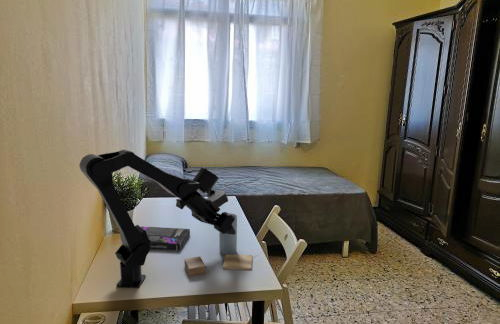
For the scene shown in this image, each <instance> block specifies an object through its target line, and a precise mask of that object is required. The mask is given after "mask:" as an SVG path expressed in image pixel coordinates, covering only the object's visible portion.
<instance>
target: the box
mask: <svg viewBox="0 0 500 324" xmlns="http://www.w3.org/2000/svg"><path fill="white" fill-rule="evenodd" d="M140 227H141V228H143V229H144V230H145V231H146V233H147V236H148V239H149V240H150V241H151V242H149V243H150V246H151V249H150V250H157V251H159V250H161V251H182V248H183V247H184V246H185V244H186V242H187V241H188V240H189V238H190V237H191V236H190V235H191V228H178V227H177V228H176V227H159V226H158V227H155V226H140Z"/></svg>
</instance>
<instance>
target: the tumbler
mask: <svg viewBox="0 0 500 324" xmlns="http://www.w3.org/2000/svg"><path fill="white" fill-rule="evenodd" d="M228 213H229V214H231V215H232V216H233V217H234V218H235V220H234V222H233V223H232V226H233V228H234V229H235V231H236V233H235V235H231V234H222V233H221V232H219V231H218V232H219V237H218V238H219V244H218V245H219V254H221V256H225V255H237V251H238V250H237V249H238V244H237V243H238V239H237V238H238V215H237V214H235V213H230V212H228Z"/></svg>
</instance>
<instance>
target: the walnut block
mask: <svg viewBox="0 0 500 324" xmlns="http://www.w3.org/2000/svg"><path fill="white" fill-rule="evenodd" d="M184 268H185V271H186V273H187V275H188V277H189V278H193V277H198V276H205V275H206V273H207V271H206V270H207V269H206V268H207V267H206V264H205V262H204V261H203V259H202V257H201V255H200V256H193V257H189V258H184Z"/></svg>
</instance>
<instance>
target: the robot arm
mask: <svg viewBox="0 0 500 324" xmlns="http://www.w3.org/2000/svg"><path fill="white" fill-rule="evenodd" d="M126 167H129V168H130V169H132V170H134V171H136V172H138V174H139V173H140V174H141V175H144V176H145V177H146V178H149V179H151V180H152V181H154V182H156V183H157V184H158V185H159V186H160V187H161V188H162V189H163V190H165V191H166V192H167V193H168V194H170V195H172V196H174V197H176V200H175V201H176V203H175V206H176V207H177V208H179V209H180V210H183V209H184V208H185V207H186V208H188V209H189V210H190V212H191V216H192V217H193V218H194V219H196V220H197V221H198V222H200V223H204V224H208V225H211V226H213V228H214V229H215V230H216V231H217V232H221V233H222V234H231V235H235V233H236V231H235V229H234V228H233V226H232V223H233V222H234V220H235V218H234V217H233V216H232V215H231V214H229V213H230V212H227V211H223V212H221V213H219V212H220V211H221V208H220V207H222V206H223V205H224V204H226V203H228V202H229V198H228V195H227V193H226V191H223V190H221V189H216V190H214V186H215V185H216V184H217V183H218V181H219V177H218V175H217V174H215V173H213V172H212V171H210V170H208V169H207V167H203V166H202V167H200V169H199V170H198V172H197V174H196V175H195V176H194V178H193V179H190V178H182V177H180V176H177V175H174V174H171V173H168V172H166V171H164V170H162V169H160V168H159V167H157V166H155V165H154V164H152V163H150V162H148V161H147V160H145V159H143V158H141V157H140V156H138V155H137V154H135V152H133V151H131V150H128V149H120V150H119V151H118V150H117V151H113V152H108V153H107V152H106V153H101V154H98V155H97V154H94V153H89V154H86V155H85V156H84V157H82V158H81V160H80V162H79V169H80V171H81V173H82V174H83V175H84V176H85V177H86V179H88V181H89V182H90V183H91V185H93V187H95V189H96V190H97V191H98V193H99V194H100V196H101V197H100V198H102V201H103V202H104V204H105V206H106V208H107V209H108V211H109V213H110V215H111V217H112V219H113V221H114V223H115V225H116V226H117V228H118V230H119V235H120V240H121V245H120V246H119V248H118V249H117V250H116V251H115V253H114V254H115V256H116V259H118V260H119V269H120V271H119V272H120V279H119V281H118V282H117V283H116V287H118V288H140V286H141V285H142V283H143V282H144V280H145V278H146V274H143V273H142V266H144V265H145V263H146V259H147V256H148V254H149V253H150V251H151V250H152V249H151V246H150V243H149V242H151V241H150V240H149V239H148V236H147V233H146V231H145V230H144V229H143V228H141V227H142V226H140V225H138V224H136V225H135V223H134V221H133V219H132V217H131V216H130V214H129V212H128V210H127V208H126V206H125V204H124V202H123V200H122V198H121V197H120V195H119V192H118V191H117V188H116V187H115V185H114V178H113V176H114V175H113V173H116V172H118V171H119V170H122V169H124V168H126ZM205 193H206V196H207V198H206V197H205V196H203V195H204V194H205Z"/></svg>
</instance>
